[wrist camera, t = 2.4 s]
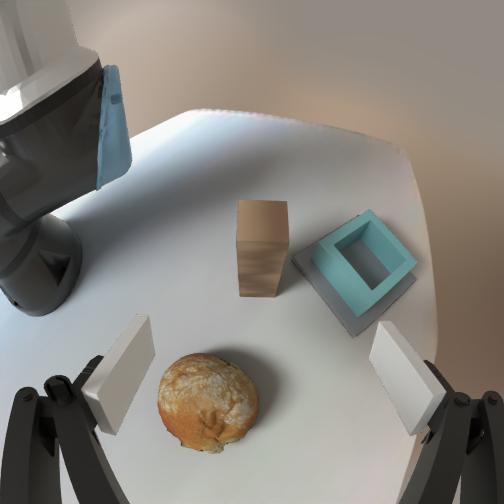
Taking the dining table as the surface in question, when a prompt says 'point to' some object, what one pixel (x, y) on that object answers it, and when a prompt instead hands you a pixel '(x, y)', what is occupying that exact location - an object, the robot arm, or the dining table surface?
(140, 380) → the robot arm
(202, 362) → the bread roll
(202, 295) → the dining table surface
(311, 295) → the dining table surface
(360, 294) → the teal square socket
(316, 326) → the dining table surface
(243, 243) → the walnut post
